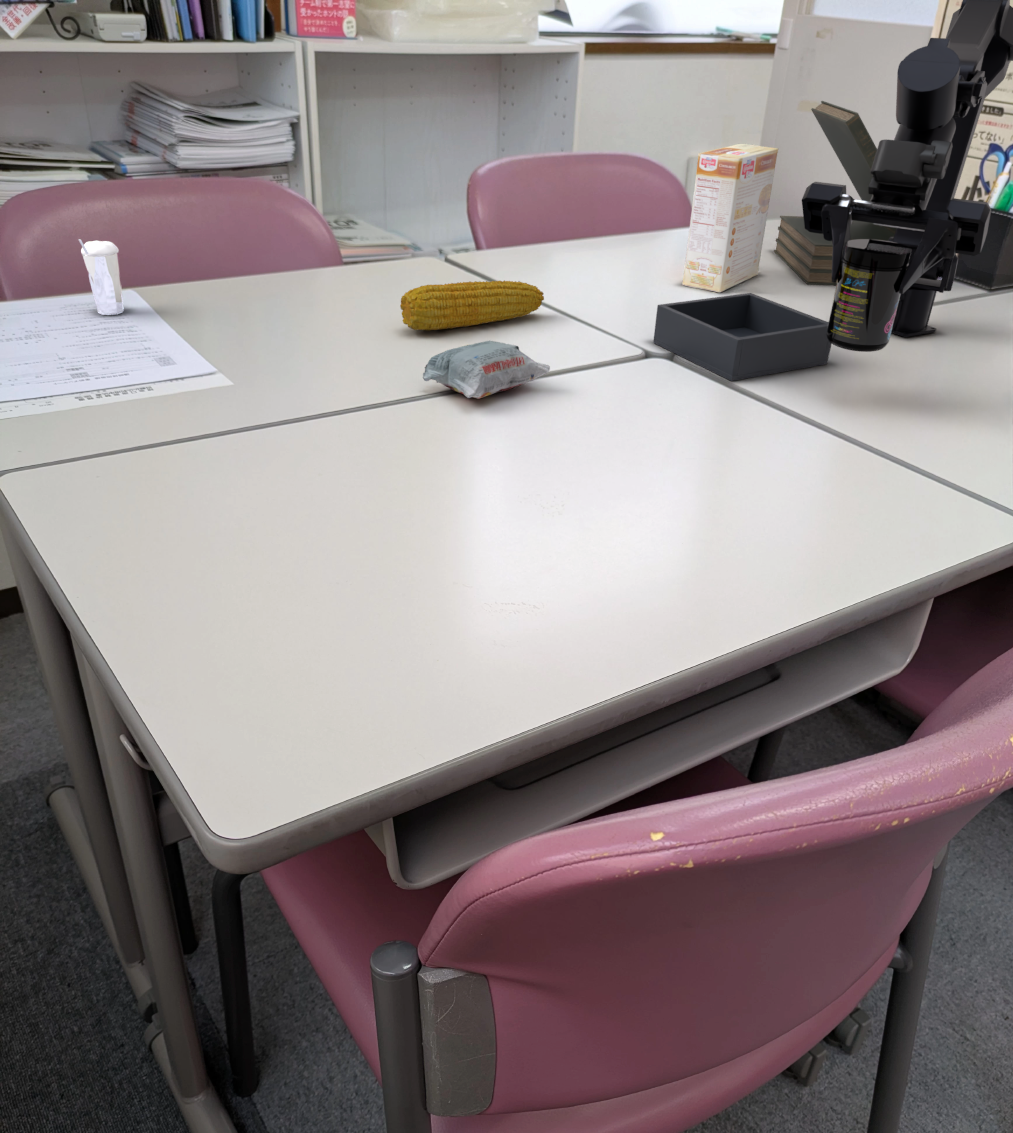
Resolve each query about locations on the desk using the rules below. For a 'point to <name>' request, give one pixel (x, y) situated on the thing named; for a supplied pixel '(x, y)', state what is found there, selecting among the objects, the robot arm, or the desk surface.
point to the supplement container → (867, 294)
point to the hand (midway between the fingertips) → (866, 285)
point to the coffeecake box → (728, 215)
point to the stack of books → (856, 156)
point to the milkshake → (104, 275)
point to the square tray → (742, 335)
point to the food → (468, 304)
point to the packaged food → (483, 368)
